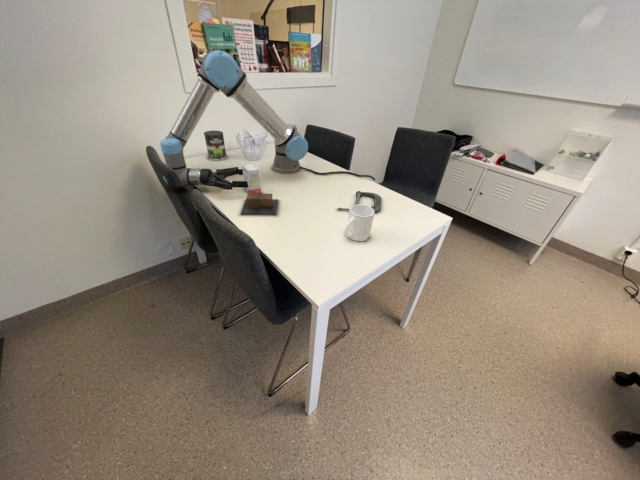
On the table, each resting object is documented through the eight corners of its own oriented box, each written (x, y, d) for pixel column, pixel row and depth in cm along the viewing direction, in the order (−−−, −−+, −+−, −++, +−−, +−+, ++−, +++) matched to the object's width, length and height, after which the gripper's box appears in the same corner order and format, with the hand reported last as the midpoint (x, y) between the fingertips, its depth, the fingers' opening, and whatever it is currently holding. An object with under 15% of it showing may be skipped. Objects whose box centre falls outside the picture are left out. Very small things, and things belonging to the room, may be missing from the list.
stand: (278, 201, 116) (277, 189, 113) (276, 215, 107) (275, 203, 103) (246, 200, 115) (244, 189, 112) (241, 214, 105) (239, 202, 102)
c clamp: (378, 218, 109) (379, 212, 107) (337, 210, 113) (338, 204, 111) (384, 198, 124) (385, 192, 123) (348, 191, 128) (349, 186, 127)
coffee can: (228, 159, 155) (224, 134, 147) (210, 161, 151) (205, 135, 143) (225, 153, 162) (221, 129, 154) (207, 155, 158) (202, 131, 150)
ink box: (261, 193, 121) (259, 169, 114) (251, 196, 119) (248, 171, 112) (254, 186, 127) (251, 162, 120) (244, 188, 125) (241, 164, 118)
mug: (335, 237, 96) (338, 212, 90) (356, 226, 103) (360, 202, 97) (353, 248, 91) (357, 222, 85) (374, 236, 98) (379, 211, 92)
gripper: (211, 174, 130) (254, 175, 131) (194, 197, 110) (246, 198, 111) (208, 159, 125) (253, 160, 127) (190, 180, 105) (244, 181, 107)
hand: (250, 178), depth 119 cm, fingers open, 13 cm apart
